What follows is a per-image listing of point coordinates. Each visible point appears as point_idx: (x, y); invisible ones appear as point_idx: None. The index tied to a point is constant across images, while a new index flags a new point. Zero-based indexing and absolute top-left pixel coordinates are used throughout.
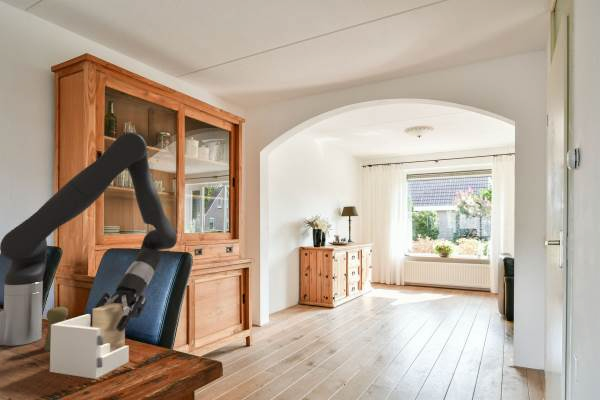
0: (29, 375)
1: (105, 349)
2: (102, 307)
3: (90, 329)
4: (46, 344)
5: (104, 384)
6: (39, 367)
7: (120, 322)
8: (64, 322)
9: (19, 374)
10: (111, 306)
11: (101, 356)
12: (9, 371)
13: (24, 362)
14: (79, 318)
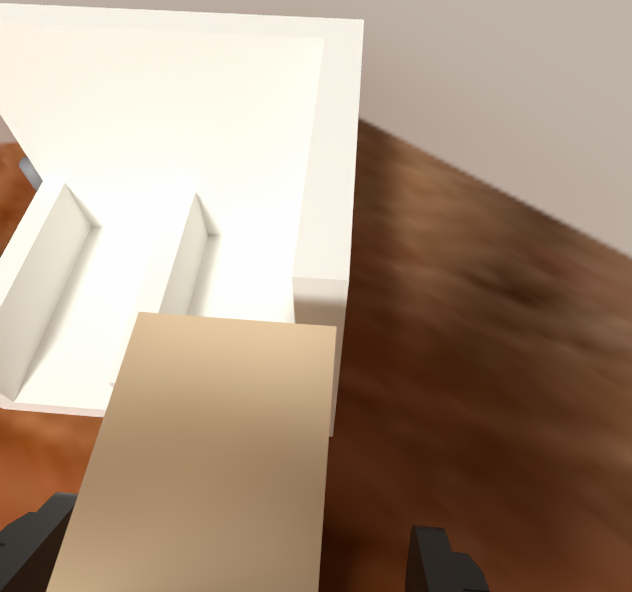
0: (398, 201)
1: None
2: (246, 439)
3: (9, 6)
4: None
5: (25, 194)
6: (443, 265)
7: (25, 530)
8: (320, 65)
9: (449, 201)
10: (116, 549)
11: (52, 204)
12: (526, 214)
13: (586, 297)
14: (306, 169)
